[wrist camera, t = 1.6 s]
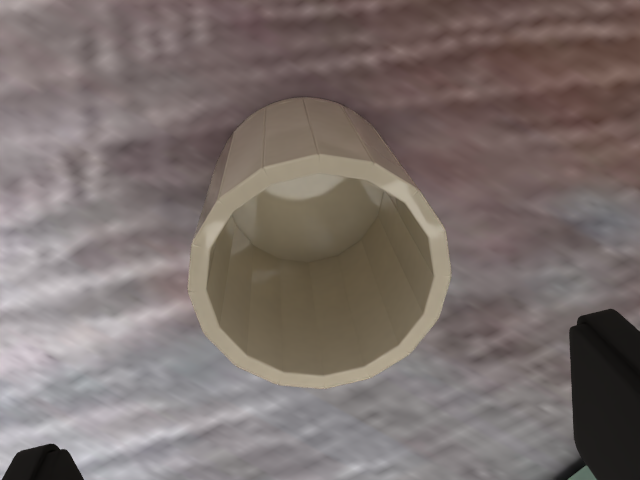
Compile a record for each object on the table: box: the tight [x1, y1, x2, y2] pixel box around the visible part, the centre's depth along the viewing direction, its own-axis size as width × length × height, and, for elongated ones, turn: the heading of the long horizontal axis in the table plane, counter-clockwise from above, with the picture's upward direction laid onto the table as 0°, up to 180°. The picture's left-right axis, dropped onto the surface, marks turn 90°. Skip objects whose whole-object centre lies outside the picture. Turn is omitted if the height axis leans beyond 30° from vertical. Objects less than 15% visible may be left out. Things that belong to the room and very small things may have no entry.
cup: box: [187, 97, 452, 389], centre depth 19 cm, size 7×7×8 cm
